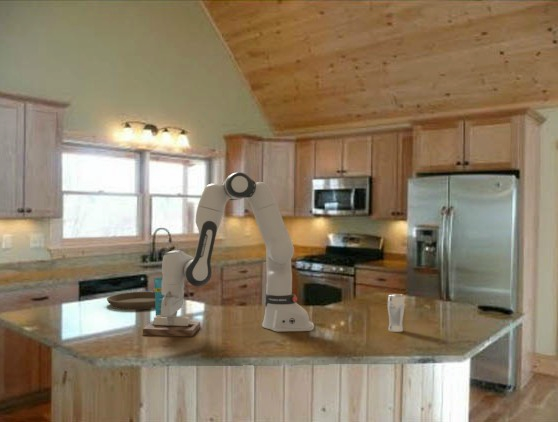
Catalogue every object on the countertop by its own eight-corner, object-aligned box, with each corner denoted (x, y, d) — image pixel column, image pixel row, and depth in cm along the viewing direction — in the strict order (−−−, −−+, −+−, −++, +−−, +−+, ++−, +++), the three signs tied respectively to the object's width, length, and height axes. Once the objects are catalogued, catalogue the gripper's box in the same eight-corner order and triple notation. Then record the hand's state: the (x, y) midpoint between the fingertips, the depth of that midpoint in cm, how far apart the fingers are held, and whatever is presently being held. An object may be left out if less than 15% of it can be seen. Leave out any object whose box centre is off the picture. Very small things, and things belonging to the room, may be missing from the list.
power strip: (189, 329, 196) (189, 315, 196) (187, 331, 193) (187, 317, 193) (155, 328, 197) (156, 314, 197) (153, 330, 194) (153, 316, 194)
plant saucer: (97, 303, 247) (97, 295, 247) (151, 296, 268) (151, 288, 268) (123, 314, 225) (123, 304, 225) (180, 305, 246) (180, 297, 246)
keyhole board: (200, 327, 201) (200, 321, 201) (192, 336, 188) (192, 330, 187) (153, 326, 203) (153, 320, 203) (142, 334, 189) (142, 328, 189)
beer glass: (394, 333, 197) (395, 297, 197) (383, 329, 203) (384, 294, 203) (407, 331, 200) (408, 296, 200) (396, 327, 207) (396, 293, 207)
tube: (155, 322, 210) (155, 278, 209) (151, 319, 214) (152, 277, 213) (171, 320, 214) (172, 277, 214) (167, 317, 218) (168, 276, 218)
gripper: (173, 294, 184) (172, 330, 184) (186, 286, 205) (185, 318, 205) (157, 294, 185) (156, 329, 185) (171, 285, 205) (171, 317, 205)
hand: (171, 323), depth 195 cm, fingers closed on power strip, 3 cm apart
